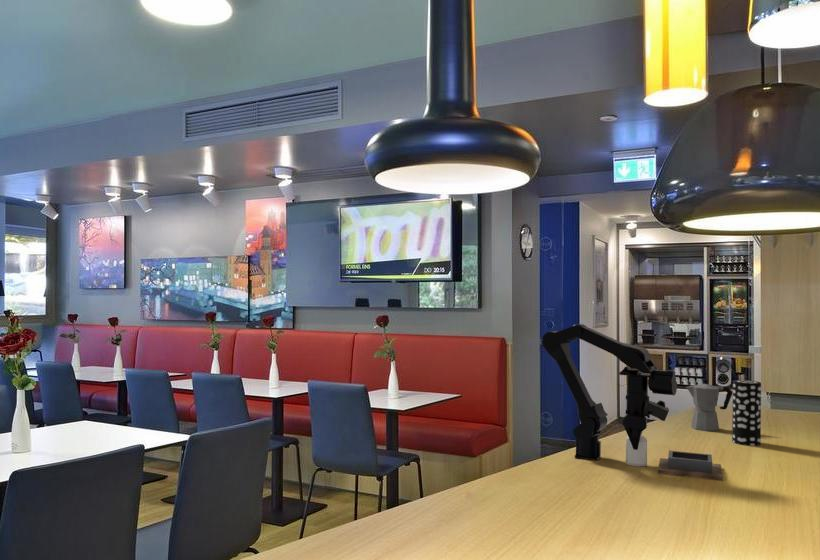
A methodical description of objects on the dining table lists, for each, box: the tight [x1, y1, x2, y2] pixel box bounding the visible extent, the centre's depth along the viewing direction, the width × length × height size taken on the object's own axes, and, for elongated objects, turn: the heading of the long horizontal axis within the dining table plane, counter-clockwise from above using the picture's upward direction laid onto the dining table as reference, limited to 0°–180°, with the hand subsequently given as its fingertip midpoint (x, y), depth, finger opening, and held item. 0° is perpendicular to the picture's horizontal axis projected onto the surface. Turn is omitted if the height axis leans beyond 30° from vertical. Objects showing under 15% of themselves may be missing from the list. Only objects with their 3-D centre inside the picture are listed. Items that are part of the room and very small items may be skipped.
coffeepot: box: [685, 378, 733, 432], centre depth 243 cm, size 15×9×18 cm, turn 70°
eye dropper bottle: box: [625, 435, 648, 467], centre depth 191 cm, size 4×6×12 cm
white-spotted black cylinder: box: [731, 379, 762, 447], centre depth 221 cm, size 8×8×20 cm
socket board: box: [657, 457, 724, 482], centre depth 185 cm, size 16×14×1 cm
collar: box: [667, 450, 713, 473], centre depth 185 cm, size 11×9×3 cm
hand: (636, 447), depth 191 cm, fingers open, 6 cm apart
